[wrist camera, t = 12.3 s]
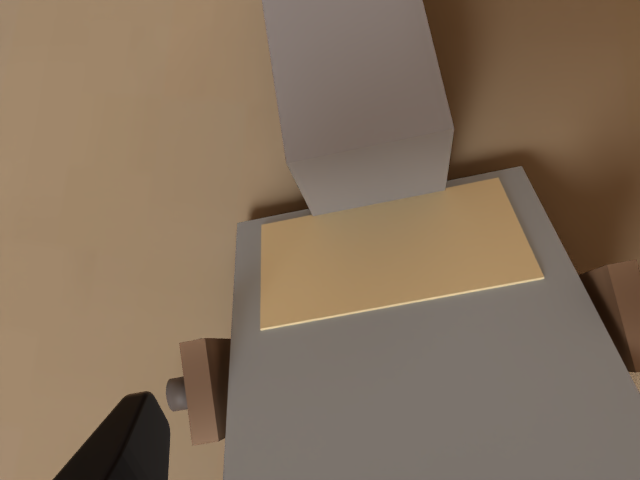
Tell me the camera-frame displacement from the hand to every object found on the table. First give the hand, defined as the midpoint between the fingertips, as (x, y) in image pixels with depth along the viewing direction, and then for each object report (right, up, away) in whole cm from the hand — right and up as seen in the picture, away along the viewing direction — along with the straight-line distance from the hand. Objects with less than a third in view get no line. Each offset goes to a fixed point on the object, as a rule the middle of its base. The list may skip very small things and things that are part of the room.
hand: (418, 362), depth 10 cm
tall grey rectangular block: (0, +4, +10) cm, 11 cm away
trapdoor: (+2, -3, +11) cm, 12 cm away
